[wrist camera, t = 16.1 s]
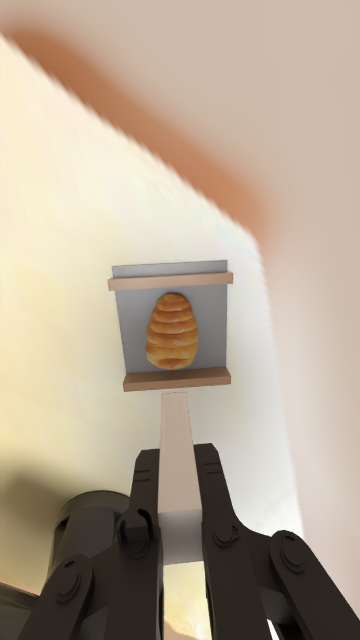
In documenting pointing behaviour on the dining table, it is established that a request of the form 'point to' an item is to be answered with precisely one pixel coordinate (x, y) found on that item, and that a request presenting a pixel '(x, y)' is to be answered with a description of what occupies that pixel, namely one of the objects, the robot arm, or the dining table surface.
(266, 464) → the dining table surface
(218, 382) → the pastry holder
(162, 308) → the pastry
